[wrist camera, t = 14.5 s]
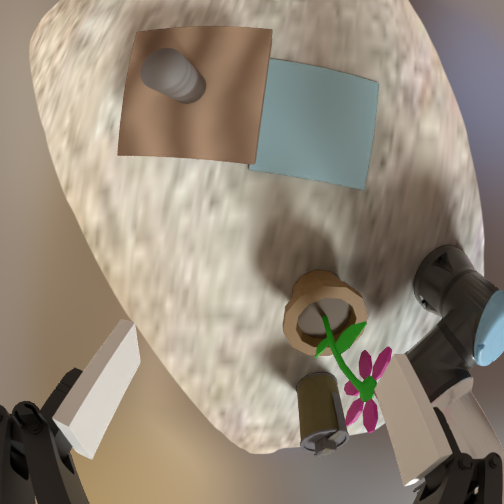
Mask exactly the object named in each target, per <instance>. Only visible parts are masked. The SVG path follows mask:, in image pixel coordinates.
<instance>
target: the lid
mask: <svg viewBox="0 0 504 504" xmlns="http://www.w3.org/2000/svg"><path fill="white" fill-rule="evenodd" d="M271 46H272V29H262V28H250V27H231V26H197V27H178V28H166V29H157V30H149V31H141V32H137V33H136V37H135V41H134V45H133V49H132V54H131V58H130V63H129V68H128V74H127V79H126V85H125V91H124V98H123V105H122V112H121V121H120V130H119V141H118V155H117V156H157V157H177V158H192V159H204V160H215V161H226V162H235V163H244V164H252V165H254V164H255V163H256V156H257V149H258V141H259V134H260V126H261V119H262V111H263V104H264V96H265V89H266V82H267V75H268V67H269V60H270V53H271Z"/></svg>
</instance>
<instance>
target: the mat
mask: <svg viewBox="0 0 504 504" xmlns="http://www.w3.org/2000/svg"><path fill="white" fill-rule="evenodd" d="M378 91H379V83H377V82H374V81H371V80H368V79H364V78H361V77H358V76H354V75H350V74H347V73H343V72H339V71H335V70H331V69H326V68H322V67H317V66H312V65H307V64H301V63H296V62H289V61H283V60H276V59H270V60H269V67H268V75H267V82H266V89H265V96H264V104H263V111H262V119H261V126H260V134H259V141H258V149H257V156H256V163H255V164H254V165H252V164H250V167H249V170H252V171H260V172H267V173H274V174H280V175H286V176H293V177H299V178H304V179H310V180H316V181H321V182H326V183H331V184H336V185H341V186H346V187H351V188H356V189H360V190H364V189H365V183H366V178H367V173H368V167H369V161H370V155H371V148H372V142H373V135H374V127H375V120H376V111H377V102H378Z"/></svg>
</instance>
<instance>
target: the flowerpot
mask: <svg viewBox="0 0 504 504" xmlns="http://www.w3.org/2000/svg"><path fill="white" fill-rule="evenodd" d="M367 319H368V313H367V310H366V307H365V304H364V301H363V298H362V296H361V294H360V293H359V292H358V291H357V290H355V289H354V288H352V287H351V286H349V285H348V284H346V283H345V282H344V281H341V280H340V279H339V278H338V277H337V276H335V275H334V274H332V273H331V272H329V271H321V270H314V271H312V272H309V273H307V274H305V275H302V276H301V277H300V279H299V280H298V281H297V282H296V284H295V285H294V286H293V292H292V299H291V300H290V301H289V302H288V304H287V305H286V306H285V313H284V320H283V332H284V334H285V336H286V338H287V339H288V341H289V343H290V345H291V346H292V347H293V348H295V349H297V350H299V351H301V352H303V353H304V354H306V355H308V356H315V359H316V358H317V357H318V356H330V355H332V354H333V355H334V357H335V359H336V361H337V363H338V365H339V367H340V369H341V370H342V371H343V373H344V374H345V375H346V377H347V378H348V379H349V380H350V381H348V382H347V383H346V384H345V387H344V391H345V392H346V394H347V395H353V396H357V395H358V394H359V393H360V398H359V399H357V400H355V401H354V402H353V403H352V405H351V406H350V408H349V410H348V411H347V416H346V420H345V423H346V425H347V426H349V425H350V424H352V423H354V422H355V421H356V420H357V419H358V417H359V416H360V414H361V413H362V411H363V424H364V426H365V428H366V430H367V431H368V433H371V432H373V431H374V430H375V427H376V423H377V420H378V411H377V405H376V404H375V402H374V401H373V400H372V398H373V397H374V395H375V396H376V393H375V390H374V389H375V387H376V385H377V382H376V380H377V379H379V378H380V377H382V375H383V373H384V372H385V370H386V368H387V366H388V364H389V362H390V360H391V353H392V349H391V348H390V347H386V348H385V349H384V350H383V351H382V352H381V353H380V354H379V356H378V358H377V360H376V362H375V364H374V366H373V372H372V376H370V374H371V370H372V361H371V356H370V355H369V353H368V352H367V351H366V350H364V351H363V352H362V353H361V356H360V360H359V372H360V375H361V377H362V378H363V379H364V381H363V382H361V381H360V380H358V379H357V378H356V377H355V375H354V374H353V373H352V372H351V370H350V369H349V368H348V367H347V365H346V364H345V362H344V360H343V358H342V357H341V355H340V354H342V353H343V352H345V351H346V350H347V349H349V348H350V346H351V345H352V344H353V343H354V342H355V341H356V340H357V339H358V338H359V337H360V336H361V335H362V334H363V331H364V328H365V326H366V324H367V323H366V322H367ZM376 398H377V396H376ZM364 402H366V404H365V407H364V410H363V404H364Z"/></svg>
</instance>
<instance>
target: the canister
mask: <svg viewBox="0 0 504 504" xmlns="http://www.w3.org/2000/svg"><path fill="white" fill-rule="evenodd" d="M296 391H297V396H298V408H299V421H300V435H301V442H300V446H301V448H302V449H303V450H305V451H308V452H313V453H316V454H314V455H315V456H320V457H324V456H327V455H328V454H330V453H333V452H335V451H336V449H337V448H339V447H341V446H343V445H344V444H345V443H346V442H347V441H348V440H349V434H348V432H347V427H346V423H345V418H344V413H343V408H342V404H341V399H340V395H339V391H338V386H337V379H336V378H335V377H334V376H333V375H331V374H329V373H322V372H320V373H313V374H310V375H307V376H305V377H304V378H302V379H301V380H300V381H299V382H298V384H297V386H296Z"/></svg>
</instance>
